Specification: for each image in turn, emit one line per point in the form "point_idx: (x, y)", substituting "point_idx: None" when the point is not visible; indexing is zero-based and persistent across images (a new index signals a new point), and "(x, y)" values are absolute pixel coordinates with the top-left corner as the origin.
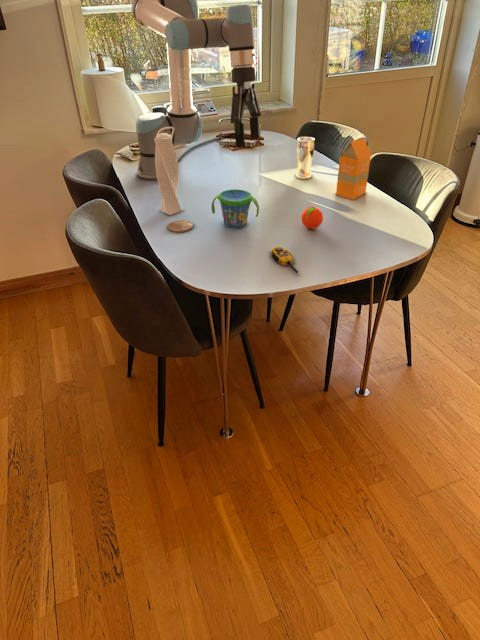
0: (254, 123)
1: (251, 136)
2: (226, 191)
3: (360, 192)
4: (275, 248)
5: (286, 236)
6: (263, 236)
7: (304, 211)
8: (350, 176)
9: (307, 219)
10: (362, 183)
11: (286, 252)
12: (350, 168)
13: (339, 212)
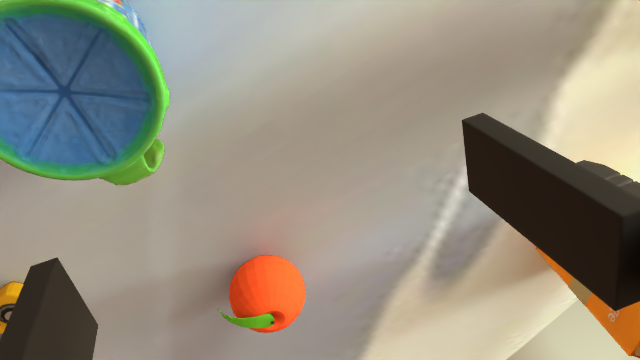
0: (561, 232)
1: (472, 135)
2: (69, 11)
3: None
4: (12, 301)
5: (151, 248)
6: (90, 195)
7: (252, 295)
8: None
9: (230, 303)
10: None
11: None
12: None
13: (419, 266)
